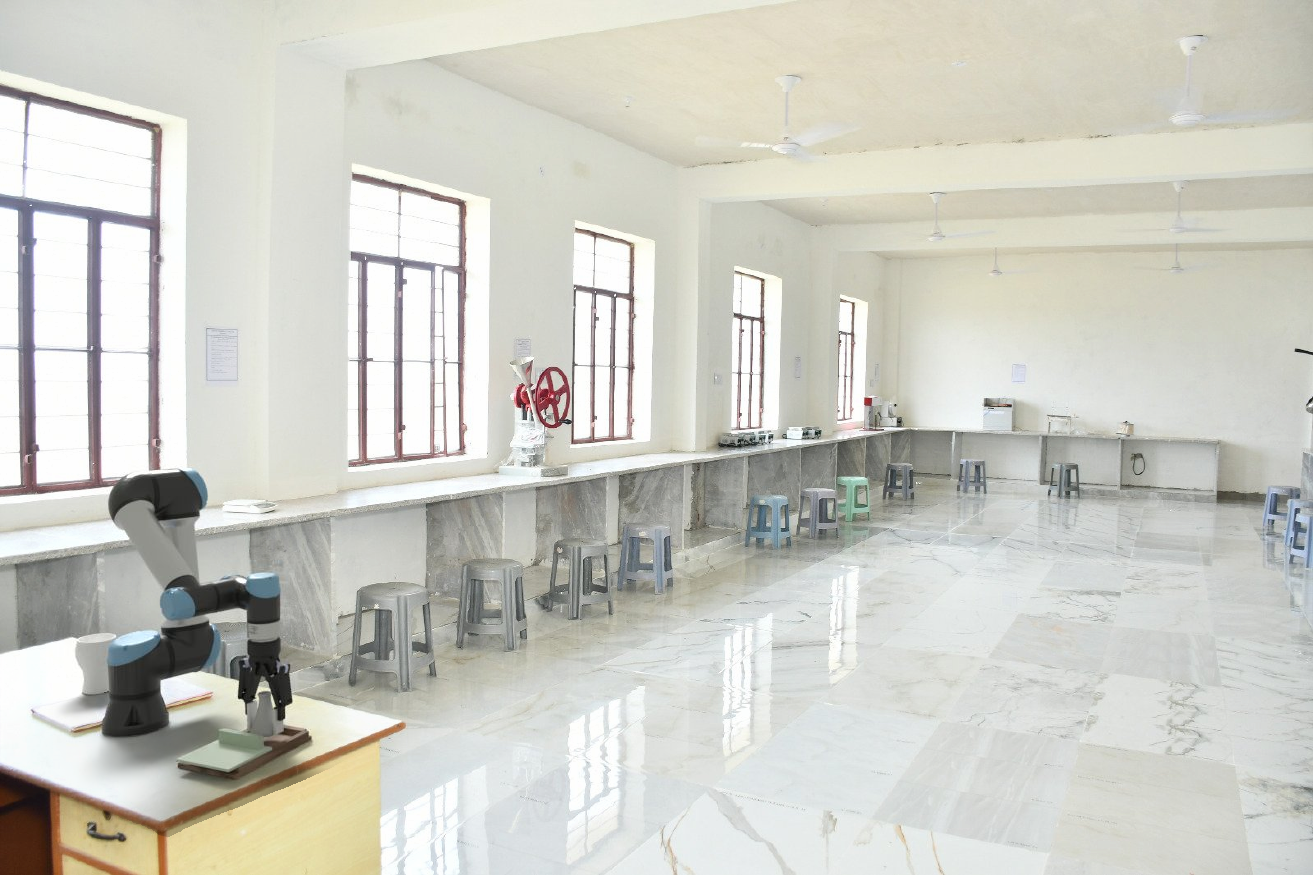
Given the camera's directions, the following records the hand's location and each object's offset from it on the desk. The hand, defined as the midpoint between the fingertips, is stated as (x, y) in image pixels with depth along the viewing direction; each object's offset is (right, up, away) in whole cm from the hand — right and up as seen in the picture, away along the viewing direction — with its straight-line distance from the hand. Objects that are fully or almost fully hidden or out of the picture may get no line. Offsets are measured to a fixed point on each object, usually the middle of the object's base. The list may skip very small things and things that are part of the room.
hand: (265, 730), depth 238 cm
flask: (0, -1, 0) cm, 1 cm away
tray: (-3, -4, -4) cm, 6 cm away
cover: (-4, -2, -12) cm, 13 cm away
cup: (-62, 0, +37) cm, 72 cm away
